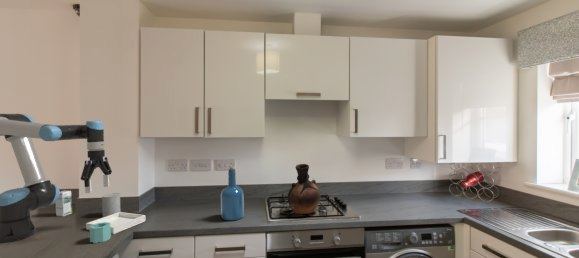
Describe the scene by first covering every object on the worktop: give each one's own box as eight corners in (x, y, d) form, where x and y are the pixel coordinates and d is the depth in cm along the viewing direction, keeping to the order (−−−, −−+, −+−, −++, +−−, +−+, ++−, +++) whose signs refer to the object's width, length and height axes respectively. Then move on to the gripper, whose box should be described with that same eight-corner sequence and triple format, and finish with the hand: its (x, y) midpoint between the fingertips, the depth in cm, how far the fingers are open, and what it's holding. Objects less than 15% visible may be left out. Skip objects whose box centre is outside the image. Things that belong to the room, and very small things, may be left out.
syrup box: (63, 216, 175) (62, 192, 175) (55, 215, 176) (54, 192, 176) (72, 213, 181) (71, 190, 180) (64, 213, 182) (63, 190, 181)
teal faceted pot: (98, 243, 135) (98, 229, 135) (86, 241, 138) (86, 227, 137) (114, 237, 142) (113, 223, 142) (102, 235, 145) (102, 221, 145)
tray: (113, 234, 147) (113, 227, 146) (86, 229, 153) (85, 223, 153) (145, 220, 165) (145, 215, 165) (119, 217, 172) (119, 211, 172)
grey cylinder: (106, 218, 170) (105, 197, 170) (99, 215, 176) (99, 195, 176) (123, 214, 178) (122, 194, 178) (116, 211, 184) (116, 192, 183)
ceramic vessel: (314, 207, 188) (314, 161, 187) (326, 215, 171) (325, 165, 170) (283, 210, 181) (283, 163, 180) (292, 219, 164) (292, 167, 163)
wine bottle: (235, 222, 161) (234, 169, 160) (216, 219, 166) (215, 167, 166) (248, 215, 173) (247, 165, 172) (230, 212, 179) (229, 164, 178)
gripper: (85, 152, 140) (87, 195, 140) (117, 147, 164) (119, 184, 165) (70, 152, 140) (72, 195, 140) (105, 147, 165) (106, 184, 165)
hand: (97, 189), depth 153 cm, fingers open, 13 cm apart
